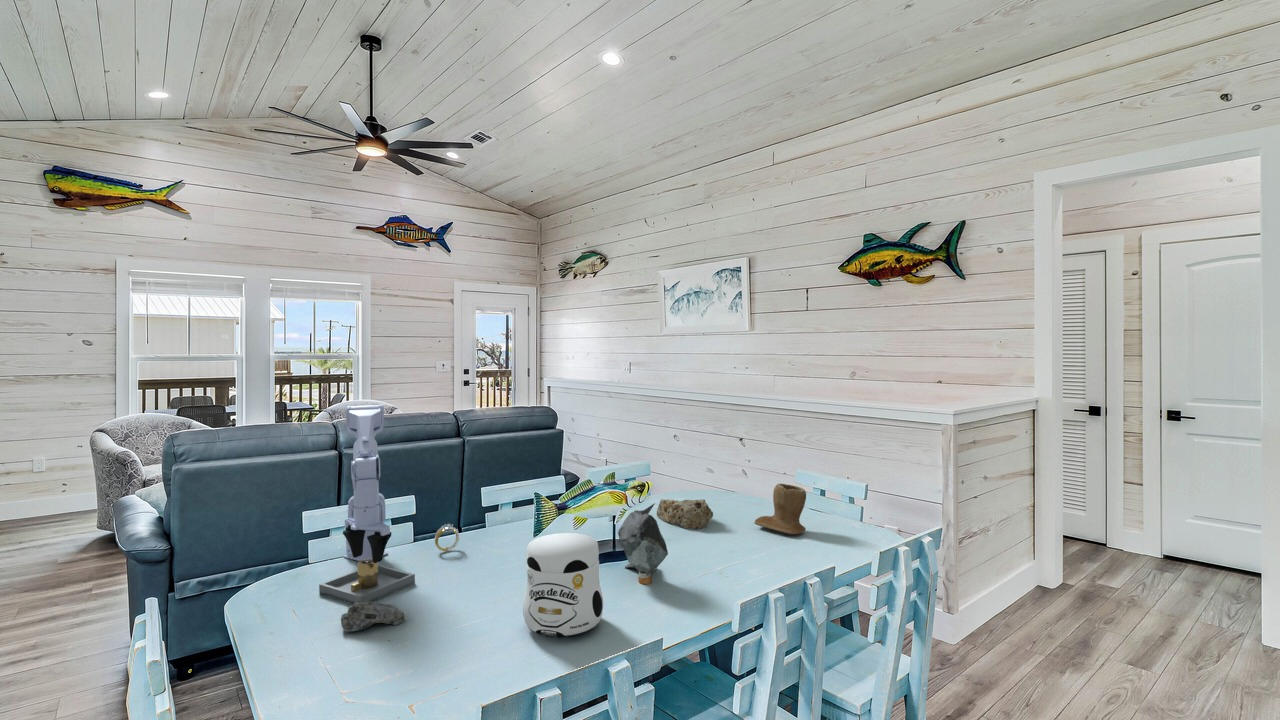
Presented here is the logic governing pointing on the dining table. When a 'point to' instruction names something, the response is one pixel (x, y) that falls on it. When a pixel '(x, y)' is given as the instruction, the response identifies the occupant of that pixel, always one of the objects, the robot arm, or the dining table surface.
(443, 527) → the ring
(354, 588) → the brass short cylinder
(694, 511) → the rock
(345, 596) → the tray
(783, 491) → the brown flared cylinder
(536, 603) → the doce de leite jar
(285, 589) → the dining table surface
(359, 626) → the grey rough irregular lump
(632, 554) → the grey faceted chunk
